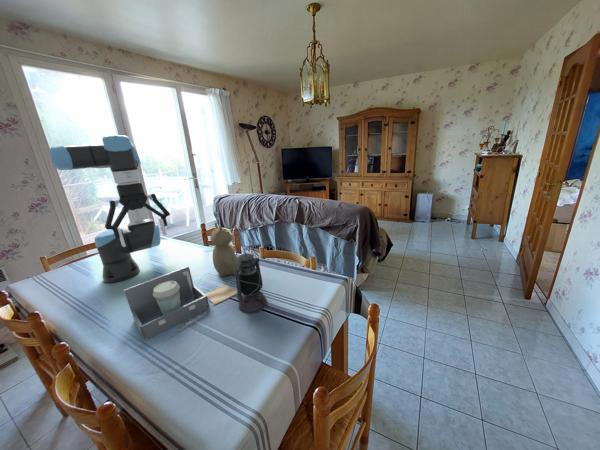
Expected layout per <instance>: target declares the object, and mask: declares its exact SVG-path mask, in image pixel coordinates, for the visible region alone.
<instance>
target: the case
mask: <svg viewBox="0 0 600 450" xmlns="http://www.w3.org/2000/svg"><path fill="white" fill-rule="evenodd" d="M166 281H176V282H177V284H178V285H179V286H180V289H179V293H180V301H181V303H182V302H183V303H184V301H187V300H189V299H195V298H196V299H195V300H193V301H191V302H189V303H186V304H184V305H181V307H180V308H178V309H176V310H173V311H171V312H169V313H167V314H165V315H163V314H162V315H160V316H159V317H157V318H155V319H153V320H151V321H148V322H146V323H144V324H142V322H141V321H144V320H146V319H147V318H150V317H153V316H155V315H157V314H159V313H160V312H161V309H160V307H159V305H158V303H157V301H156V299H155V297H154V296H153V290H154V288H155V287H156V286H157V285H159V284H161V283H163V282H166ZM123 292H124V295H125V298H126V300H127V303H128V306H129V309H130V312H131V315H132V318H133V320H134V321H133V322H134V323H135V325H136V328H137V330H138V331H139V333H140V335H141V336H142V339H143V341H146V340H148V339H150V338H152V337H153V336H156V335H158V334H160V333H162V332H164V331H166V330H167V329H169V328H172V327H174V326H175V325H177V324H179V323H182V322H184V321H186V320H188V319H189V318H191V317H194V316H196V315H197V314H200V313H202V312H204V311H205V310H206V309H208V308H210V305H209V300H208V299H207V296H206V295H205V294H206V293H204V292H203V291H202V290H201V289H199V287H197V286H196V285H195V284H194V282H193V278H192V273H191V269H190V266H189V265H187V266H183V267H181V268H179V269H176V270H173V271H170V272H168V273H165V274H162V275H160V276H157V277H155V278H151V279H148V280H146V281H144V282H140V283H138V284H136V285H133V286H130V287H127V288H125V289H123ZM161 313H162V312H161Z"/></svg>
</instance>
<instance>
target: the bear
mask: <svg viewBox="0 0 600 450" xmlns="http://www.w3.org/2000/svg"><path fill="white" fill-rule="evenodd" d="M235 236H236V234H235V233H232V232H229V231H227V229H223V227H222V225H220V224H219V225H218V224H217V222H216V221H214V228H213V230H212V232H211V234H210V238H209V239H210V241H211V243H212V244H213V245H214V247H213V250H212V264H213V267H214V269H215V271H216V272H217V273H218V274H219V275H220V276H224V277H225V276H230V275H234V270H236V269H237V268H238V265H237V261H239V260H238V257H239V256H240V255H239V256H238V255H237V257H236V252H235V251H234V249H233V247H232V246H231V245H229V244H230V243H231V242H232V241H233V240H234V239H235ZM235 258H236V267H235Z"/></svg>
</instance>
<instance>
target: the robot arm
mask: <svg viewBox="0 0 600 450" xmlns="http://www.w3.org/2000/svg"><path fill="white" fill-rule="evenodd" d="M101 140H102V142H91V143H84V144H79V145H65V146H64V145H60V146H51V147H50V148H49V156H50V159H51V161H52V163H53V165H54V167H55V168H56V170H59V171H72V170H80V169H81V170H82V169H83V170H84V169H106V168H107V169H108V168H109V169H110V171H111V173H112V177H113V180H114V183H115V184H116V186H115V187H116V190H117V193H118V197H119V199H115V200H113V199H110V200H109V210H108V214H107V217H106V221H105V225H104V228H105V229H106V230H105V231H103V232H100V233H99V234H97V235H96V236H95V237H94V244H95V248H96V249H97V252H98V255H99V258H100V261H101V263H102V277H101V278H102V280H103V282H104V283H107V284H111V283H114V284H115V283H119V282H122V281H125V280H128V279H130V278H133V277H135V276H136V275H137V274H139V272H140V271H141V269H140V267H139V265H138V263H137V262H136V261H135V259H133V257H132V254H133V253H135V252H139V251H140V252H141V251H143V250H144V251H145V250H148V249H152V248H155V247H158V246H160V244H161V233H160V229H161V232H162V235H163V236H167V230H166V227H167V226H168V222H167V217H169V216H170V214H171V213H170V211H168V210H167V208H166V206H164V205H163V204H162V203H161V202H160V201H159V200H158V198H157V196H156V193H154V192H151V193H149V194H147V195H146V193H145V190H144V186H143V183H142V182H141V180H142V177H141V175H140V173H139V166H141V160H140V157H139V154H138V152H137V150H136V148H135V145H134V144H133V143H132V142H131V140H130V137H129V136H127V135H106V136H103V137H102V139H101ZM148 199H149V201H152V202H153V203H154V204H155V205H156V206H157V207H158V208H159V210H161V212H162V213H161V212H160V211H158V209H156V208H154V207H152V206H151V205H149V203H147V201H148ZM119 204H120V205H122V206H123V207H122V209H121V211H120V212H119V214H118V215H117V217H116V218H115V221H114V222H113V220H114V216H115V212H116V207H118V206H119ZM148 210H149V211H150V212H152V213H153V214H155V215H156V216H158V217H160V218H158V222H159V224H158V223H155V221H154V219H152V218H150V214H149V212H148ZM126 214H127V216H128V221H129V223H128V224H127V229H125V230H124V229H123V228H122V227H119V226H120V225H121V223H122V221H123V220H124V218H125V217H126ZM112 223H113V224H112ZM159 226H160V227H159ZM131 253H132V254H131Z"/></svg>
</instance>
